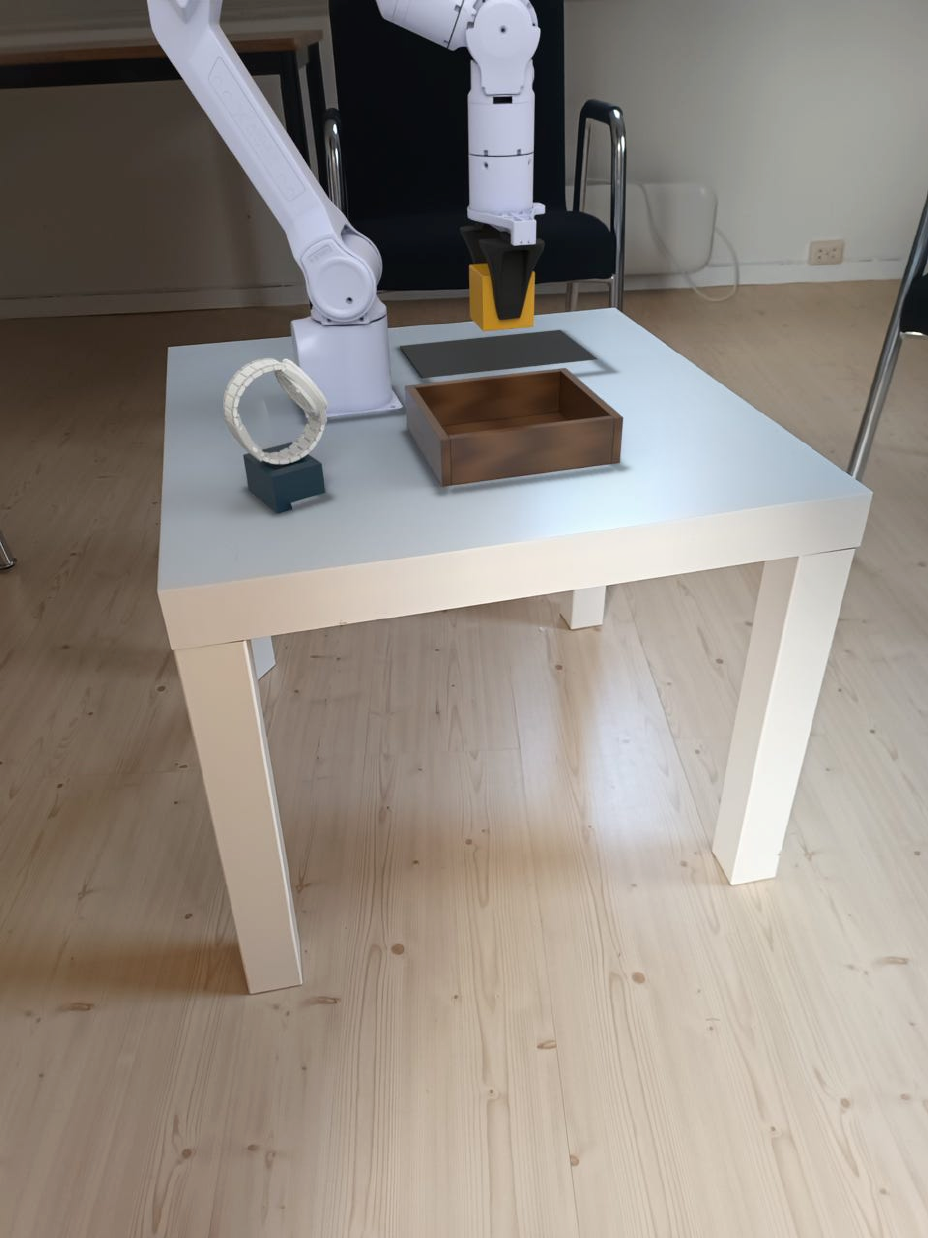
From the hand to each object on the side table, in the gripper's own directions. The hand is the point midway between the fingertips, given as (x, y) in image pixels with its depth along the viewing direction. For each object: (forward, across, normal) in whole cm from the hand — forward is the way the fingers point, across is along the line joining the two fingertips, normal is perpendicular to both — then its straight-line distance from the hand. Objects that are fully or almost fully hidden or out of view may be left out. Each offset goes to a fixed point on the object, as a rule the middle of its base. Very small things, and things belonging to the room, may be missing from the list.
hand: (500, 310), depth 88 cm
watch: (+9, -16, +23) cm, 29 cm away
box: (+9, -12, +3) cm, 16 cm away
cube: (+1, 0, 0) cm, 1 cm away
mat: (+9, +13, -4) cm, 16 cm away
